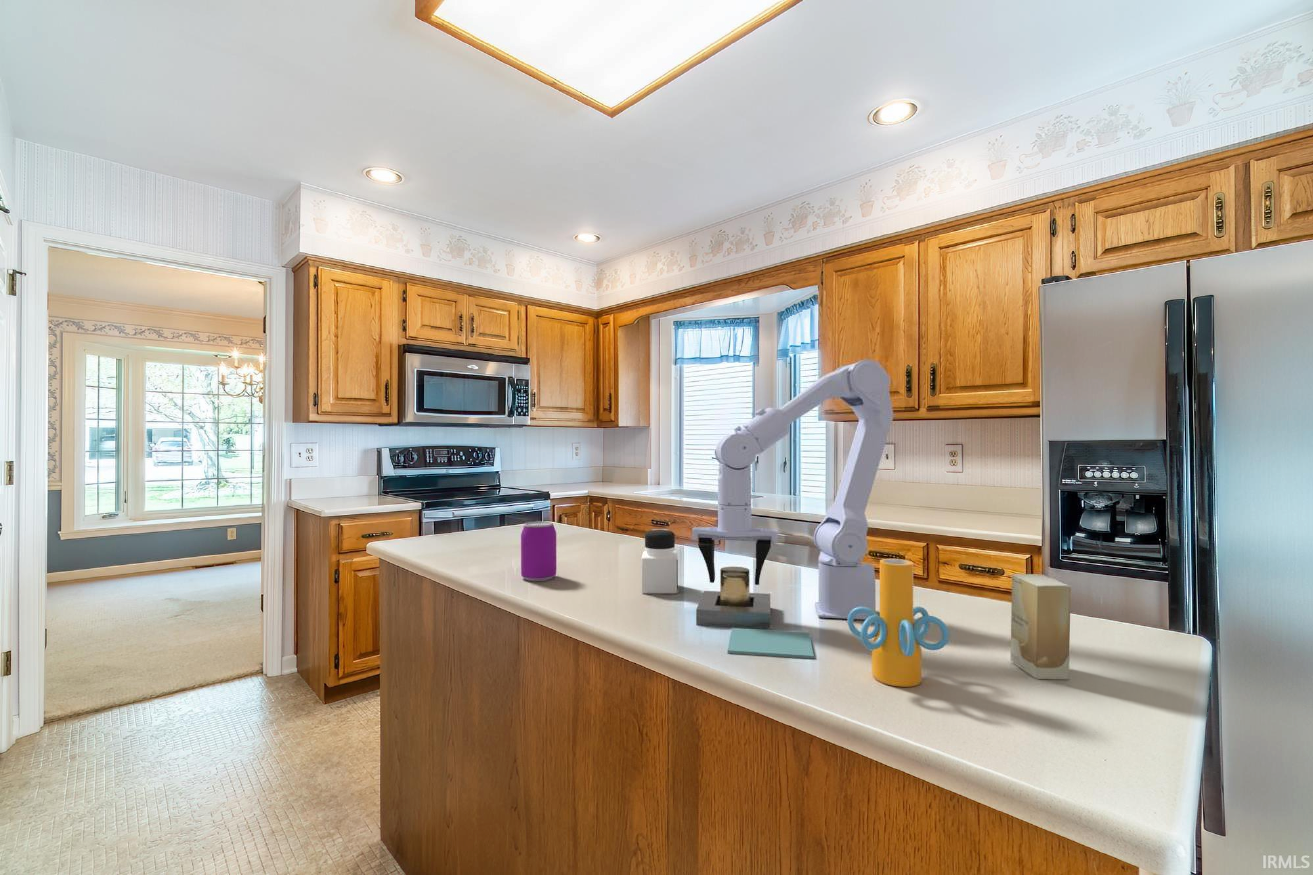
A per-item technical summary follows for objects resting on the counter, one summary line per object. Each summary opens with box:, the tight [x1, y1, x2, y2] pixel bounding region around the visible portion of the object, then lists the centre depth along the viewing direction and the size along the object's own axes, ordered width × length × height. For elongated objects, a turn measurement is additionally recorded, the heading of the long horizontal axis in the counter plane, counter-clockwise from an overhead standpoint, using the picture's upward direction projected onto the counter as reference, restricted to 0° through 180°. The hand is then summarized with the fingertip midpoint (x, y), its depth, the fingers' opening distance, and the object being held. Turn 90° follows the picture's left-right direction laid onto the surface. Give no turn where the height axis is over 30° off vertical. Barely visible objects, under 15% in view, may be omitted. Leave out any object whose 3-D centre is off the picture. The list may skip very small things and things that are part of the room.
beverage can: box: [520, 520, 557, 582], centre depth 131 cm, size 8×8×12 cm
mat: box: [727, 627, 815, 660], centre depth 90 cm, size 12×10×1 cm
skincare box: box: [1010, 573, 1072, 680], centre depth 79 cm, size 6×4×12 cm
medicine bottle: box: [641, 528, 679, 595], centre depth 121 cm, size 7×7×12 cm
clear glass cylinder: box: [719, 566, 751, 607], centre depth 104 cm, size 5×5×8 cm
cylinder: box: [847, 558, 950, 688], centre depth 77 cm, size 12×10×15 cm
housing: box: [695, 590, 771, 630], centre depth 104 cm, size 12×12×2 cm
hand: (734, 582), depth 104 cm, fingers open, 7 cm apart
